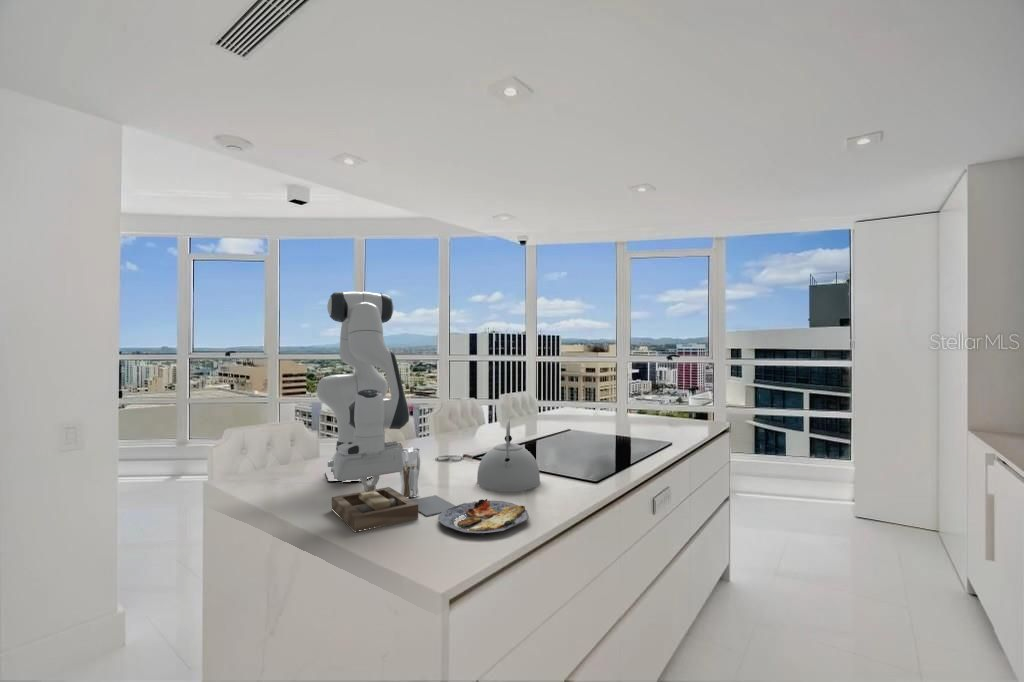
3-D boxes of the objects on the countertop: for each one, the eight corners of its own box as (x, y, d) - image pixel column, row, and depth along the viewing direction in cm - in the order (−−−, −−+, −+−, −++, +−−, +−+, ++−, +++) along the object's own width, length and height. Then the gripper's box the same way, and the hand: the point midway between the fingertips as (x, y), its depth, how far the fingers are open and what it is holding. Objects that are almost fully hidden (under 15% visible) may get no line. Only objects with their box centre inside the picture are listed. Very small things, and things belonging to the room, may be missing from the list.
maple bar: (358, 497, 149) (358, 491, 149) (372, 495, 152) (372, 489, 152) (374, 510, 138) (374, 503, 138) (390, 507, 140) (390, 500, 140)
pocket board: (331, 510, 148) (331, 497, 148) (389, 499, 159) (389, 486, 159) (355, 532, 130) (355, 517, 130) (418, 518, 141) (418, 504, 141)
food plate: (484, 501, 155) (483, 490, 155) (544, 518, 141) (544, 506, 141) (422, 526, 136) (422, 513, 136) (484, 549, 121) (484, 534, 121)
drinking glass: (399, 499, 159) (399, 452, 159) (398, 493, 165) (398, 448, 165) (421, 497, 160) (421, 451, 161) (419, 491, 167) (419, 447, 167)
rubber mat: (404, 502, 155) (404, 501, 155) (435, 496, 162) (435, 495, 162) (426, 516, 142) (426, 515, 142) (459, 509, 149) (459, 507, 149)
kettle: (541, 493, 164) (540, 425, 164) (473, 493, 165) (472, 426, 165) (539, 474, 189) (538, 415, 189) (479, 474, 190) (479, 415, 190)
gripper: (398, 439, 156) (398, 483, 156) (332, 447, 144) (332, 494, 144) (406, 442, 151) (406, 487, 151) (338, 450, 139) (338, 499, 139)
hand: (369, 491), depth 147 cm, fingers closed
